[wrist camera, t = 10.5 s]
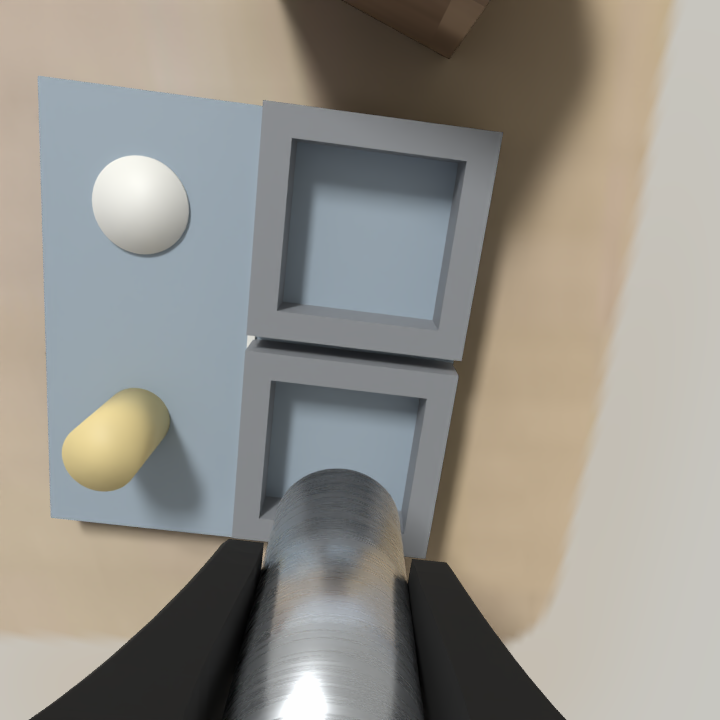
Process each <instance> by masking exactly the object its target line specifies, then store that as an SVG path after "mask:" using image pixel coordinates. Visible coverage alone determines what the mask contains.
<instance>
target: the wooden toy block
mask: <svg viewBox="0 0 720 720" xmlns="http://www.w3.org/2000/svg"><path fill="white" fill-rule="evenodd" d="M342 1H344V2H346V3H348V4H350V5H351V6H353V7H355V8H357V9H359V10H361V11H362V12H364V13H366V14H368V15H370V16H372V17H373V18H375V19H377V20H379V21H381V22H383V23H384V24H386V25H388V26H390V27H392V28H393V29H395V30H397V31H399V32H401V33H403V34H404V35H406V36H408V37H410V38H412V39H414V40H415V41H417V42H419V43H421V44H423V45H425V46H426V47H428V48H430V49H432V50H434V51H436V52H437V53H439V54H441V55H443V56H445V57H447V58H448V59H449V58H450V57H451V56H452V54H453V53H454V51H455V50H456V48H457V47H458V46H459V44H460V43H461V41H462V40H463V39H464V37H465V36H466V34H467V33H468V31H469V30H470V29H471V27H472V26H473V24H474V23H475V21H476V20H477V19H478V17H479V16H480V14H481V13H482V11H483V10H484V9H485V7H486V6H487V4H488V3H489V2H490V0H342Z"/></svg>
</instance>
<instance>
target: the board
mask: <svg viewBox="0 0 720 720" xmlns="http://www.w3.org/2000/svg"><path fill="white" fill-rule="evenodd" d="M38 99H39V133H40V166H41V200H42V234H43V268H44V302H45V336H46V370H47V403H48V437H49V471H50V505H51V518H59V519H68V520H77V521H87V522H96V523H105V524H114V525H124V526H133V527H142V528H152V529H161V530H170V531H179V532H189V533H198V534H207V535H217V536H226V537H232V538H237V539H247V540H256V541H265V542H269V538H270V534H271V530H272V526H273V523H274V519H275V515H276V511H277V508H278V505H279V503H280V501H281V499H282V497H283V496H284V494H285V493H286V491H287V490H288V489H289V488H290V487H291V486H292V485H293V484H294V483H295V482H297V481H298V480H300V479H301V478H303V477H305V476H307V475H309V474H311V473H314V472H317V471H320V470H325V469H334V468H336V469H348V470H353V471H357V472H360V473H363V474H365V475H367V476H369V477H371V478H373V479H374V480H376V481H377V482H378V483H380V484H381V485H382V486H383V487H384V488H385V489H386V490H387V491H388V493H389V494H390V495H391V497H392V499H393V500H394V502H395V505H396V507H397V510H398V514H399V520H400V528H401V536H402V544H403V552H404V556H405V557H414V558H423V559H425V558H426V553H427V547H428V542H429V536H430V531H431V525H432V520H433V514H434V509H435V503H436V498H437V492H438V487H439V481H440V476H441V470H442V465H443V459H444V454H445V448H446V443H447V437H448V432H449V426H450V421H451V416H452V410H453V405H454V399H455V394H456V388H457V383H458V377H459V376H458V374H457V372H456V370H455V368H454V366H453V361H454V360H456V361H462V355H463V350H464V344H465V339H466V333H467V328H468V322H469V317H470V311H471V306H472V300H473V295H474V289H475V284H476V278H477V273H478V268H479V262H480V257H481V251H482V246H483V240H484V235H485V229H486V224H487V218H488V213H489V207H490V202H491V196H492V191H493V185H494V180H495V174H496V169H497V163H498V158H499V152H500V147H501V141H502V136H503V132H495V131H488V130H480V129H473V128H466V127H458V126H451V125H443V124H436V123H429V122H421V121H414V120H406V119H399V118H392V117H384V116H377V115H370V114H362V113H355V112H347V111H340V110H333V109H325V108H318V107H310V106H303V105H296V104H288V103H281V102H273V101H266V100H263V106H258V105H251V104H243V103H236V102H229V101H221V100H214V99H206V98H199V97H192V96H184V95H177V94H169V93H162V92H154V91H147V90H140V89H132V88H125V87H117V86H110V85H103V84H95V83H88V82H80V81H73V80H66V79H58V78H51V77H43V76H38Z"/></svg>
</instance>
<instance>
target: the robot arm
mask: <svg viewBox="0 0 720 720" xmlns="http://www.w3.org/2000/svg"><path fill="white" fill-rule="evenodd" d="M263 544H264V543H260V542H251V541H242V540H232V539H228V540H227V541H226V542H224V543H223V544H222V545H221V546H220V547H219V548H218V550H217V551H216V552H215V553H214V554H213V556H212V557H211V558H210V559H209V560H208V561H207V563H206V564H205V565H204V566H203V567H202V568H201V569H200V571H199V572H198V573H197V574H196V575H195V576H194V577H193V578H192V579H191V580H190V581H189V583H188V584H187V585H186V586H185V587H184V588H183V589H182V590H181V591H180V592H179V593H178V594H177V595H176V596H175V597H174V598H173V599H172V600H171V601H170V602H169V603H168V604H167V605H166V606H165V607H164V608H163V609H162V610H161V611H160V612H159V613H158V614H157V615H156V616H155V617H154V618H153V619H152V620H151V621H150V622H149V623H148V624H147V625H146V626H144V627H143V628H142V629H141V630H140V631H139V632H138V633H137V634H136V635H135V636H133V637H132V638H131V639H130V640H129V641H128V642H127V643H126V644H125V645H123V646H122V647H121V648H120V649H119V650H118V651H117V652H116V653H115V654H113V655H112V656H111V657H110V658H109V659H108V660H107V661H105V662H104V663H103V664H102V665H100V667H98V668H97V669H96V670H94V671H93V672H92V673H91V674H89V675H88V676H87V677H86V678H85V679H83V680H82V681H81V682H80V683H78V684H77V685H76V686H74V687H73V688H72V689H70V690H69V691H68V692H67V693H65V694H64V695H63V696H61V697H60V698H59V699H57V700H56V701H55V702H53V703H52V704H51V705H49V706H48V707H46V708H45V709H44V710H42V711H41V712H39V713H38V714H36V715H35V716H34V717H32V718H31V719H29V720H222V717H223V713H224V709H225V705H226V702H227V698H228V694H229V690H230V686H231V683H232V679H233V675H234V671H235V667H236V664H237V660H238V656H239V652H240V648H241V644H242V641H243V637H244V633H245V629H246V626H247V622H248V618H249V615H250V611H251V607H252V603H253V600H254V596H255V592H256V588H257V584H258V581H259V577H260V573H261V566H262V555H263ZM408 592H409V601H410V609H411V617H412V625H413V633H414V641H415V649H416V657H417V665H418V673H419V681H420V689H421V697H422V705H423V713H424V720H566V719H565V718H564V717H563V716H562V715H561V714H560V712H558V710H556V708H555V707H554V706H553V705H552V704H551V703H550V701H549V700H548V699H547V698H546V697H545V695H544V694H543V693H542V692H541V691H540V690H539V688H538V687H537V686H536V685H535V684H534V682H533V681H532V680H531V679H530V678H529V676H528V675H527V674H526V673H525V671H524V670H523V669H522V668H521V666H520V665H519V664H518V662H517V661H516V660H515V659H514V657H513V656H512V655H511V653H510V652H509V651H508V649H507V648H506V647H505V645H504V644H503V643H502V641H501V640H500V639H499V637H498V636H497V635H496V633H495V632H494V631H493V629H492V628H491V626H490V625H489V624H488V622H487V621H486V619H485V618H484V617H483V615H482V614H481V612H480V611H479V609H478V608H477V606H476V605H475V604H474V602H473V601H472V599H471V598H470V596H469V595H468V593H467V592H466V590H465V589H464V587H463V586H462V584H461V583H460V581H459V580H458V578H457V577H456V575H455V574H454V572H453V571H452V569H451V568H450V567H449V565H448V564H447V563H444V562H435V561H426V560H417V559H412V563H411V568H410V574H409V580H408Z"/></svg>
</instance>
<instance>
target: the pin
mask: <svg viewBox="0 0 720 720" xmlns="http://www.w3.org/2000/svg"><path fill="white" fill-rule="evenodd" d="M222 720H424V713H423V705H422V697H421V689H420V681H419V673H418V665H417V657H416V649H415V641H414V633H413V625H412V617H411V609H410V601H409V592H408V584H407V576H406V568H405V560H404V552H403V544H402V536H401V528H400V520H399V514H398V510H397V507H396V505H395V502H394V500H393V499H392V497H391V495H390V494H389V493H388V491H387V490H386V489H385V488H384V487H383V486H382V485H381V484H380V483H378V482H377V481H376V480H374V479H373V478H371V477H369V476H367V475H365V474H363V473H360V472H357V471H353V470H348V469H336V468H334V469H325V470H320V471H317V472H314V473H311V474H309V475H307V476H305V477H303V478H301V479H300V480H298V481H297V482H295V483H294V484H293V485H292V486H291V487H290V488H289V489H288V490H287V491H286V493H285V494H284V496H283V497H282V499H281V501H280V503H279V505H278V508H277V511H276V515H275V519H274V523H273V526H272V530H271V534H270V538H269V542H268V546H267V549H266V553H265V557H264V561H263V565H262V568H261V573H260V577H259V581H258V584H257V588H256V592H255V596H254V600H253V603H252V607H251V611H250V615H249V618H248V622H247V626H246V629H245V633H244V637H243V641H242V644H241V648H240V652H239V656H238V660H237V664H236V667H235V671H234V675H233V679H232V683H231V686H230V690H229V694H228V698H227V702H226V705H225V709H224V713H223V717H222Z"/></svg>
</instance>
